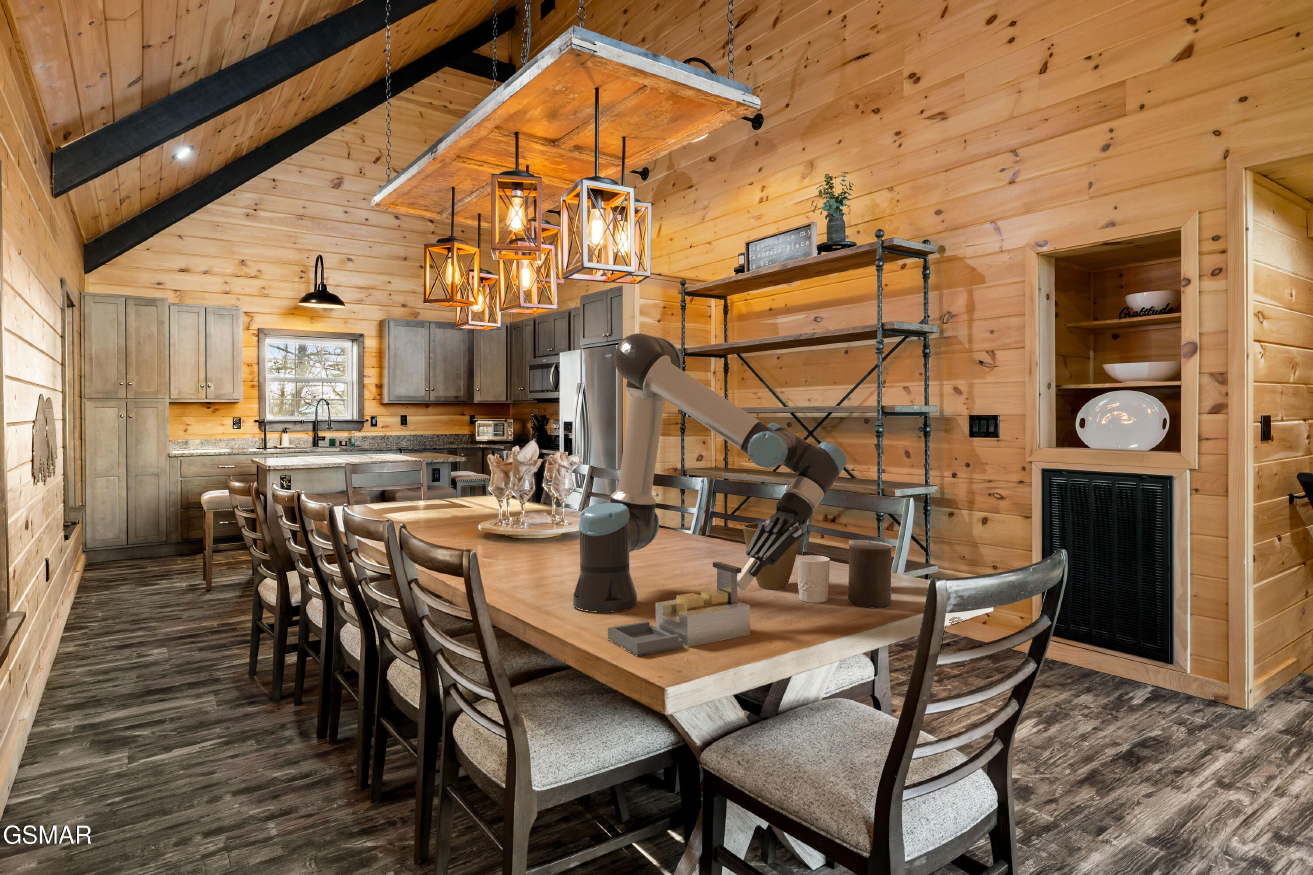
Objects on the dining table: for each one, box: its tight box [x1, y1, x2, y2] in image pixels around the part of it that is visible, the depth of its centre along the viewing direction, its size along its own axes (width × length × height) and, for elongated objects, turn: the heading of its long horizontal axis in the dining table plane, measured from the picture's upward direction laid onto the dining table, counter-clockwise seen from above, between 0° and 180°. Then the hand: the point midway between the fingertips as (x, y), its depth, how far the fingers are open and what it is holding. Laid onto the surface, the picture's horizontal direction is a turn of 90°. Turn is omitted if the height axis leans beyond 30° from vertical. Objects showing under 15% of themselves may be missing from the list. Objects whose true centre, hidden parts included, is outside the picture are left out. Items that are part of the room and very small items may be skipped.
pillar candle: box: [847, 539, 892, 608], centre depth 172 cm, size 10×10×15 cm
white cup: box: [796, 554, 831, 604], centre depth 175 cm, size 8×8×10 cm
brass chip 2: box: [700, 588, 728, 608], centre depth 150 cm, size 4×4×4 cm
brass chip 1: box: [675, 592, 704, 616], centre depth 147 cm, size 4×4×4 cm
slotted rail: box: [655, 599, 751, 648], centre depth 148 cm, size 15×12×6 cm
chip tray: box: [607, 620, 684, 657], centre depth 141 cm, size 10×12×2 cm
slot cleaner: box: [712, 561, 742, 604], centre depth 151 cm, size 2×8×9 cm, turn 31°
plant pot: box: [742, 522, 802, 590], centre depth 190 cm, size 15×15×16 cm
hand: (739, 585), depth 153 cm, fingers closed
